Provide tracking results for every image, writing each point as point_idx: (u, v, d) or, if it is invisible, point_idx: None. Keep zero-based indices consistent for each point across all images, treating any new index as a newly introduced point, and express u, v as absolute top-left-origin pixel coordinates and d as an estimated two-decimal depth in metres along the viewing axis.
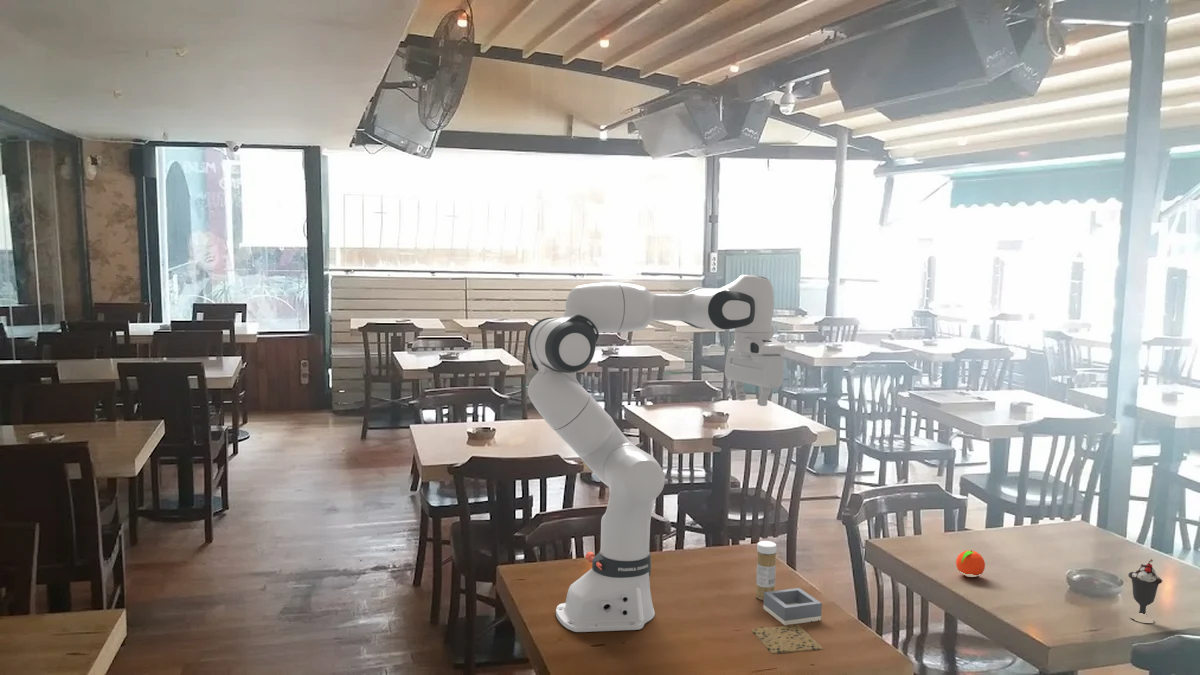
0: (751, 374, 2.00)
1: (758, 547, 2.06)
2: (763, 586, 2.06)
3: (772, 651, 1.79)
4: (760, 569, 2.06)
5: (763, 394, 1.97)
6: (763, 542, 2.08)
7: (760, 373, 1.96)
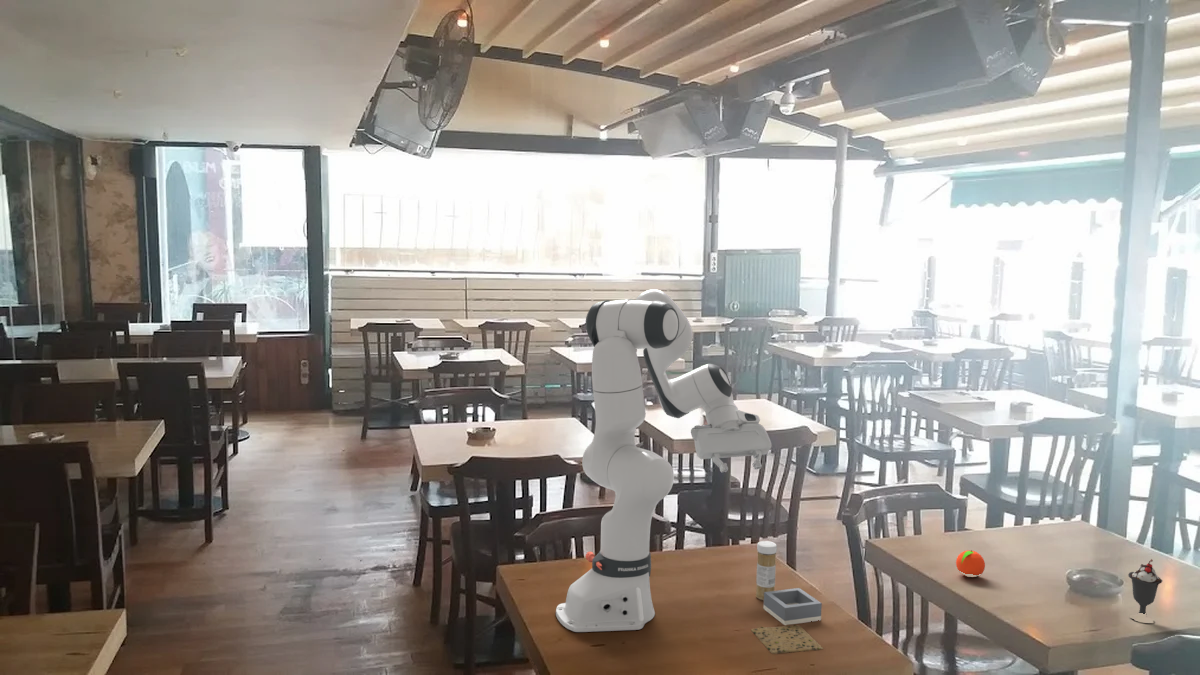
0: (745, 441, 2.23)
1: (758, 547, 2.06)
2: (763, 586, 2.06)
3: (772, 651, 1.79)
4: (760, 569, 2.06)
5: None
6: (763, 542, 2.08)
7: (756, 438, 2.24)
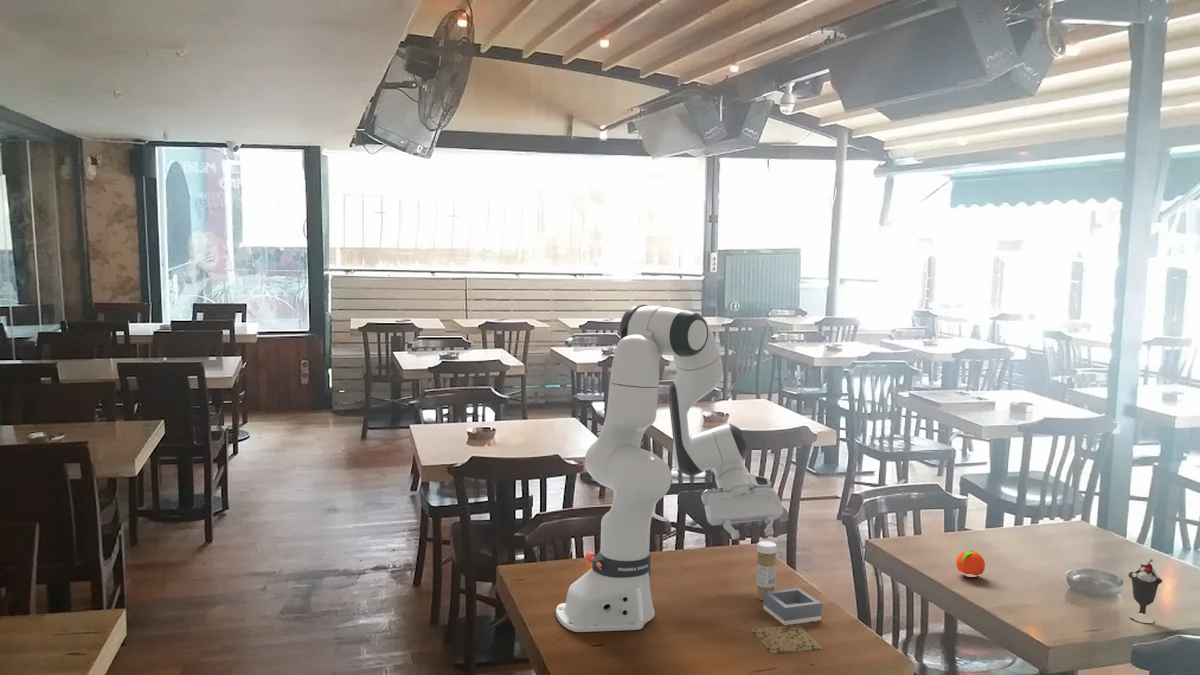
0: (756, 506, 2.17)
1: (758, 547, 2.06)
2: (763, 586, 2.06)
3: (772, 651, 1.80)
4: (760, 569, 2.06)
5: None
6: (763, 542, 2.08)
7: (768, 503, 2.19)
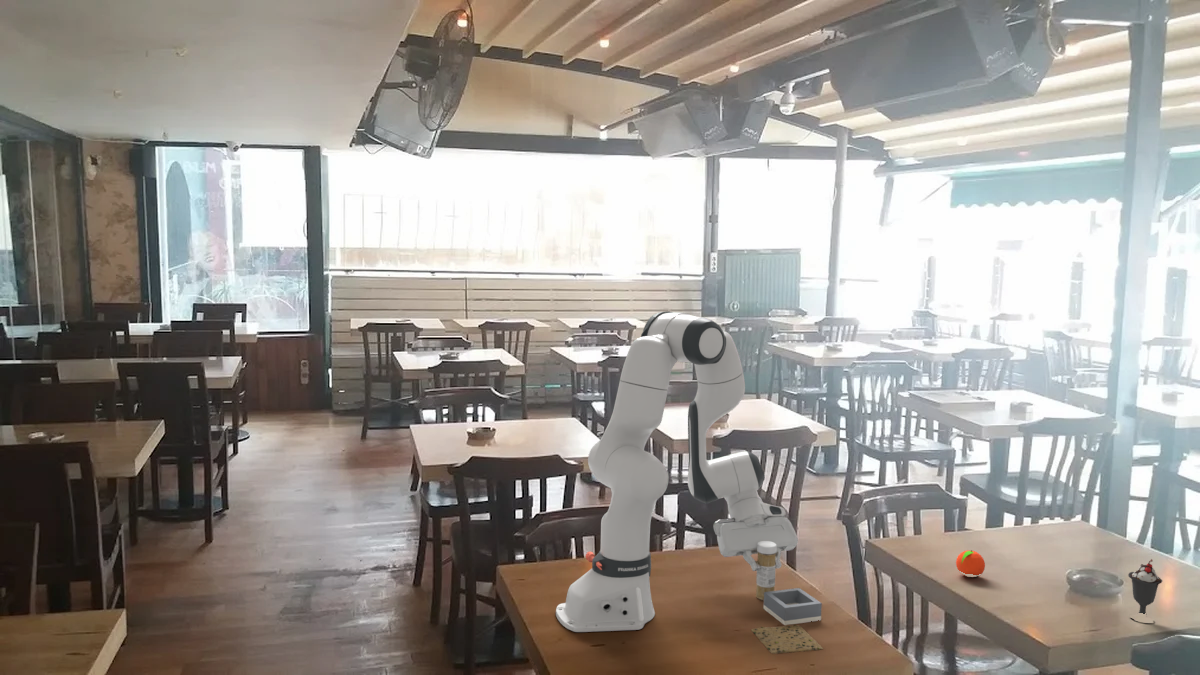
0: (770, 537, 2.11)
1: (758, 547, 2.06)
2: (763, 586, 2.06)
3: (772, 651, 1.80)
4: (760, 569, 2.06)
5: None
6: (763, 542, 2.08)
7: (782, 533, 2.12)
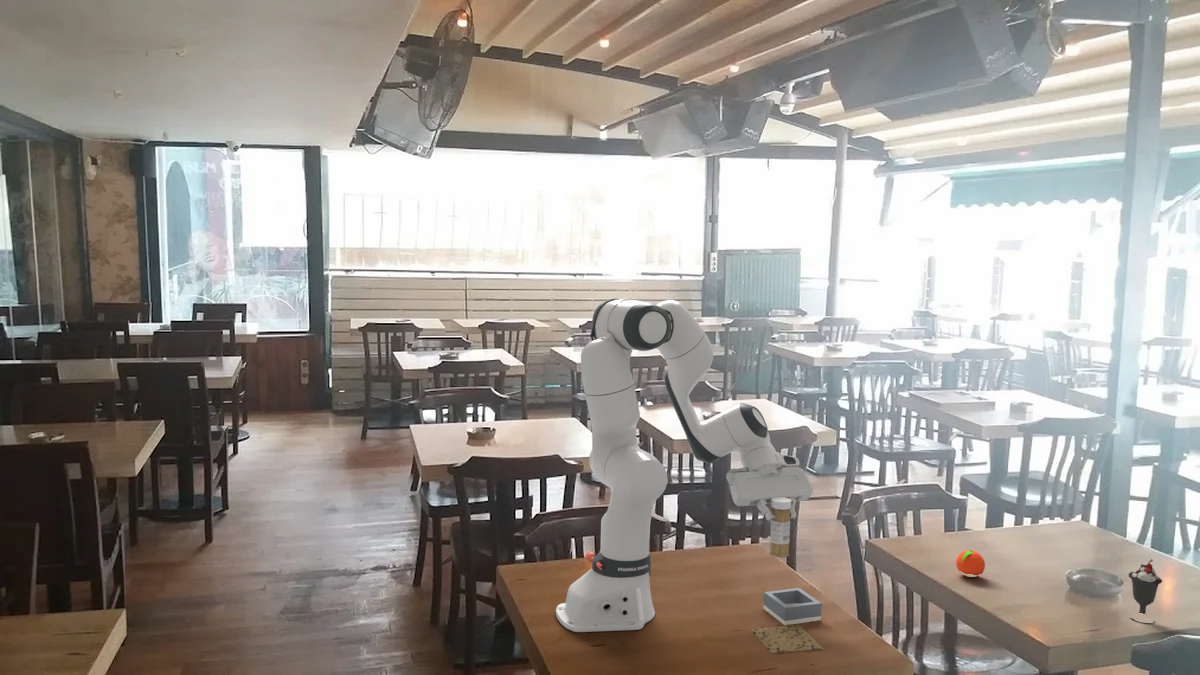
0: (785, 487, 2.05)
1: (772, 503, 2.01)
2: (777, 543, 2.01)
3: (772, 651, 1.80)
4: (774, 525, 2.01)
5: None
6: (777, 498, 2.02)
7: (796, 483, 2.07)
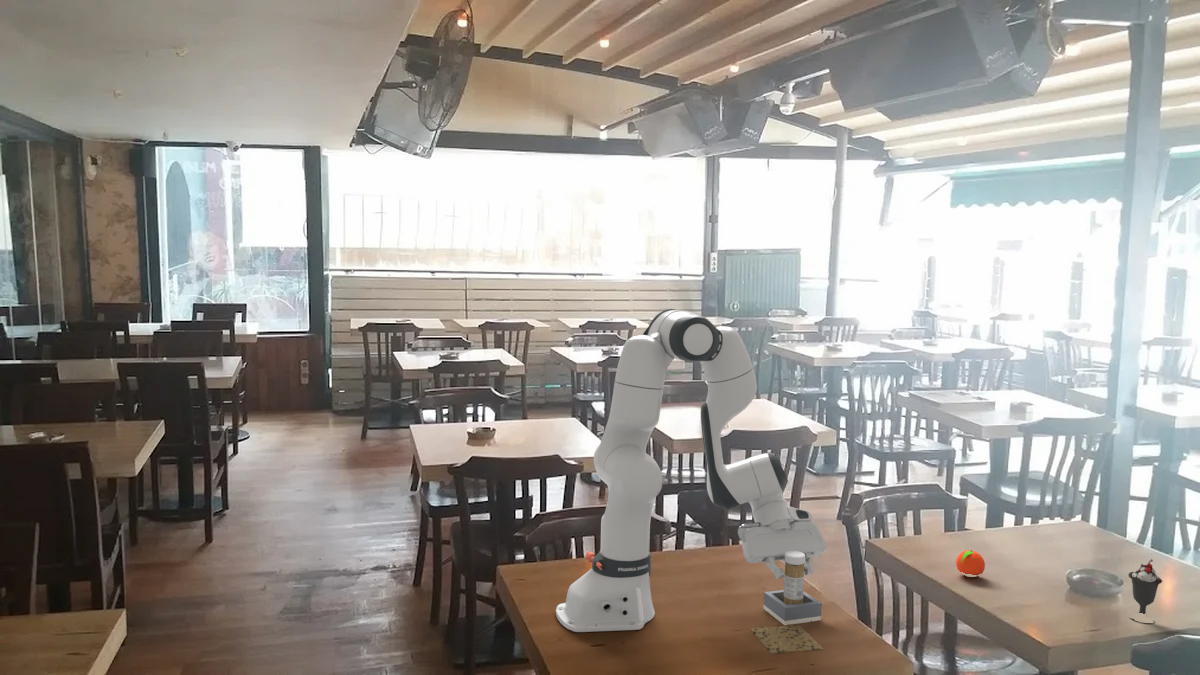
0: (798, 542, 2.01)
1: (786, 557, 1.97)
2: (791, 599, 1.96)
3: (772, 651, 1.80)
4: (788, 580, 1.97)
5: None
6: (791, 552, 1.98)
7: (809, 539, 2.03)
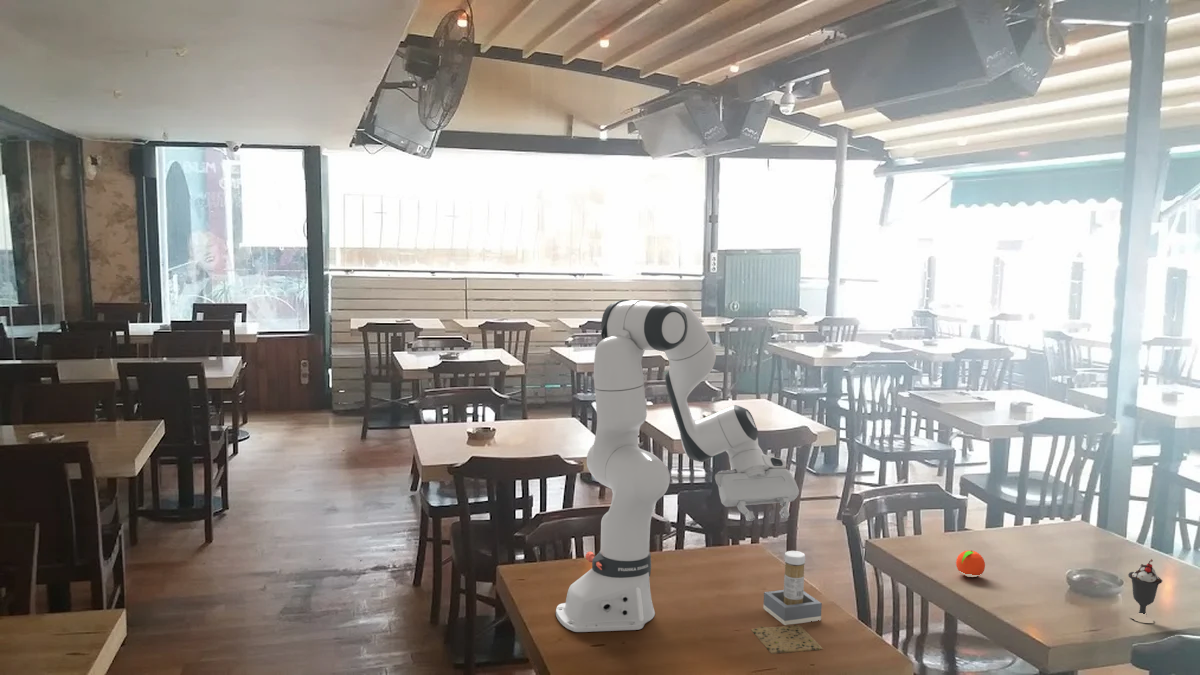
0: (771, 488, 2.12)
1: (786, 557, 1.97)
2: (791, 599, 1.96)
3: (771, 651, 1.80)
4: (788, 580, 1.97)
5: None
6: (791, 552, 1.98)
7: (783, 485, 2.13)
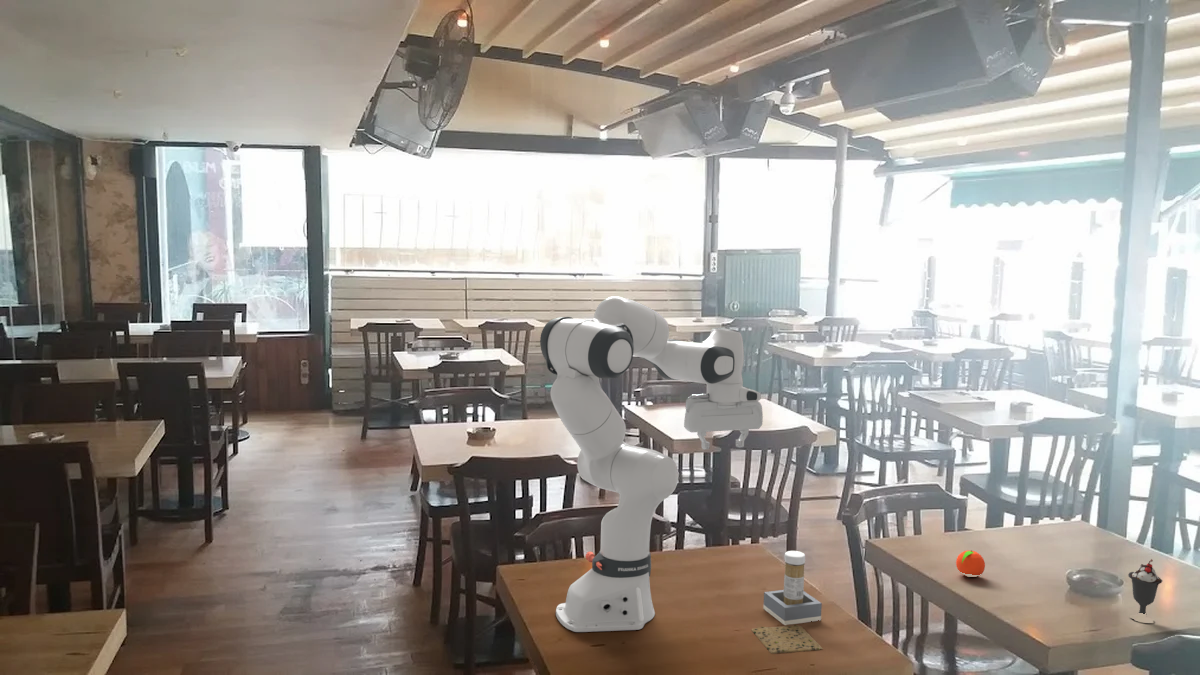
0: (737, 421, 2.14)
1: (786, 557, 1.97)
2: (791, 599, 1.96)
3: (771, 651, 1.80)
4: (788, 580, 1.97)
5: None
6: (791, 552, 1.98)
7: (749, 417, 2.15)
